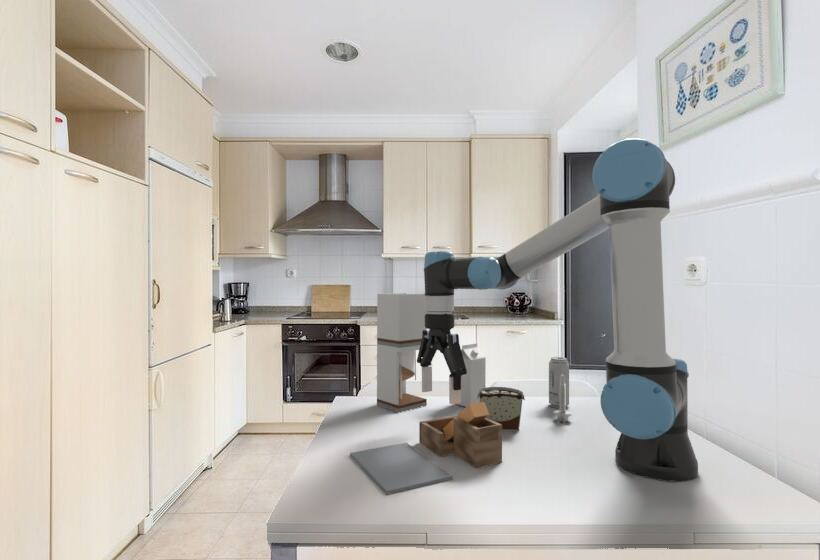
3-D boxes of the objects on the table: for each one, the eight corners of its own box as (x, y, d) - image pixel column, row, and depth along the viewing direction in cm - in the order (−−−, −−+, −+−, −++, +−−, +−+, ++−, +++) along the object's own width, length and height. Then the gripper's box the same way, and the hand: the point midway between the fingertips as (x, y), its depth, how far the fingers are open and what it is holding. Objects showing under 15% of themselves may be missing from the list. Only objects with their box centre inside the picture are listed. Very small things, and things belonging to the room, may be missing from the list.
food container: (521, 423, 119) (521, 387, 119) (524, 431, 113) (524, 392, 113) (475, 421, 120) (475, 385, 120) (476, 429, 114) (477, 391, 114)
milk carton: (453, 404, 138) (453, 344, 138) (468, 400, 143) (468, 342, 143) (470, 409, 133) (471, 346, 133) (485, 404, 137) (485, 344, 138)
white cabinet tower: (399, 412, 129) (399, 294, 129) (376, 405, 136) (377, 293, 137) (426, 405, 136) (426, 293, 137) (404, 398, 144) (404, 293, 144)
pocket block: (515, 459, 95) (515, 422, 95) (461, 471, 88) (461, 432, 88) (467, 433, 111) (467, 402, 111) (419, 442, 104) (419, 409, 104)
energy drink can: (545, 404, 139) (545, 356, 139) (562, 403, 140) (562, 356, 140) (554, 409, 133) (554, 360, 133) (572, 408, 134) (573, 359, 134)
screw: (568, 417, 124) (574, 423, 119) (551, 417, 124) (556, 423, 119) (568, 372, 124) (574, 376, 119) (551, 372, 124) (556, 375, 120)
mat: (452, 478, 85) (452, 475, 85) (386, 494, 79) (386, 491, 79) (406, 445, 103) (406, 442, 103) (349, 455, 96) (350, 452, 96)
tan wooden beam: (489, 414, 95) (484, 401, 97) (474, 417, 93) (469, 404, 95) (460, 438, 105) (456, 426, 106) (446, 441, 103) (442, 428, 104)
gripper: (481, 314, 101) (482, 406, 100) (428, 310, 123) (428, 385, 123) (453, 315, 97) (454, 411, 97) (404, 311, 119) (404, 388, 119)
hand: (440, 397), depth 110 cm, fingers open, 13 cm apart
